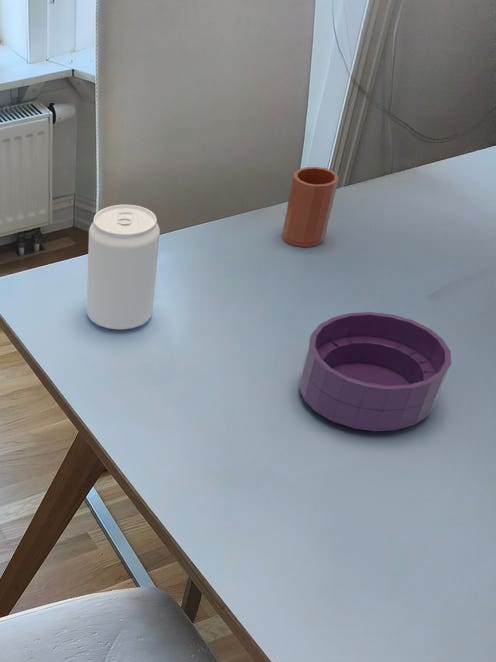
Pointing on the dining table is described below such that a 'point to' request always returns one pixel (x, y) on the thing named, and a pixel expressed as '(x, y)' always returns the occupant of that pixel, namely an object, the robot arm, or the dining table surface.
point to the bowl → (374, 371)
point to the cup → (309, 206)
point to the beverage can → (122, 266)
